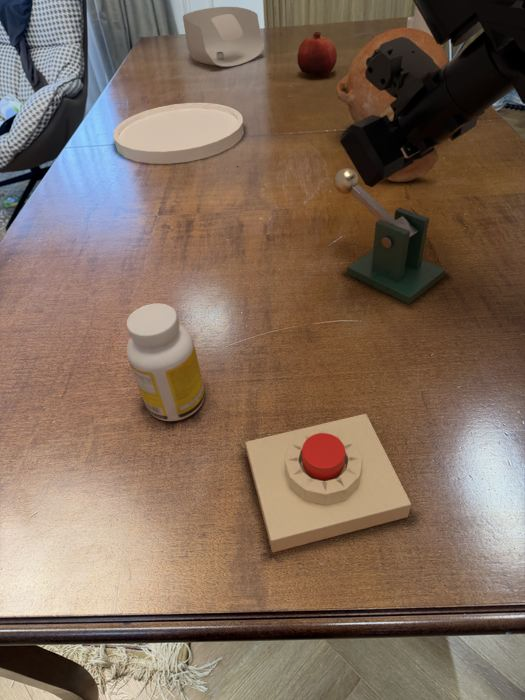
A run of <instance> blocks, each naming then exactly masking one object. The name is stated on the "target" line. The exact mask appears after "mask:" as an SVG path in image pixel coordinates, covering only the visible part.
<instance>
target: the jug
mask: <svg viewBox="0 0 525 700" xmlns="http://www.w3.org/2000/svg"><path fill="white" fill-rule="evenodd" d="M399 37H405V38H408V39H410V40H411V41H412V42H413V43H415V44H416V45H417V46H418V47H419V48H421V49H422V50H423V51H424V52H425V53H426V54H428V55H429V56H430V57H431V58H432V59H433V60H434V63H436V64H437V65H438V67H439V68H440V69H441V68H442V67H443V66H444V65H446V64H448V63H449V60H448V57H447V54H446V52H445V49H444V48H443V46H441V45H440V44H437V43H436V41H435V39H434V37H432V36H431V35H430V34H428V33H426V32H424V31H422V30H419V29H412V28H407V27H399V28H391V29H389V30H386V31H384V32H382V33H379V34H377V35H376V36H375V37H373V38H372V39H371V40H369V42H368V43H367V44H365V45H364V46H363V47H362V48H361V49H360V50H359V51H358V53H357V54H356V56H355V57H354V59H353V60H352V63H351V65H350V67H349V69H348V73H347V74H346V75H345V76H344V77H343V78H342V79H341V80H339V82H338V83H337V85H336V88H335V94H336V97H337V98H338V100H340V101H341V102H343V103H345V104H346V105H347V107H348V111H349V113H350V116H351V118H352V120H353V122H354V123H356V122H358V121H360V120H362V119H364V118H366V117H368V116H371V115H376V116H379V117H383V116H385V115H387V116H388V118H389V119H390V121H392V120H393V116H394V112H393V110H392V108H391V106H390V104H391V103H392V102H393V101H394V100H395V99H397V98H394V97H393V96H391V95H390V94H389V93H388V92H386V91H385V90H382V91H379V90H378V89H377V88H376V87H375V86H374V85H373V84H371V83H370V82H369V81H368V80H367V79H366V76H365V71H366V68H367V66H366V60H367V58H369V57H371V56H372V55H373V53H374V51H375V50H376V49H378V48H379V47H380V45H381V44H383V43H385V42H388V41H391V40H393V39H396V38H399ZM439 158H440V155H439V153H438V147H437V146H435V147H434V151H433V152H431V153H430V154H428V155H426V156H424V157H423V158H421V159H417V160H413V162H414V163H412V164H410V165H409V166H407V167H405V168H404V169H402V170H399V171H398V172H396V173H395V174H393V175H392V176H390V177H389V178H387V179H386V180H389V181H390V182H397V183H403V182H404V183H405V182H410V181H414V180H415V179H421V178H422V177H424V176H426V175H427V174H428V173H429V172H430V171H431V170H432V169H433V167H434V166H435V165H436V163H437V162H438V160H439Z"/></svg>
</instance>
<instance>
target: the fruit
mask: <svg viewBox="0 0 525 700" xmlns="http://www.w3.org/2000/svg"><path fill="white" fill-rule="evenodd" d="M321 34H322V32H320V31H314V32H313V36H310V37H306V38H304V39H303V41H302V42H301V43H300V45H299V47H298V51H297V55H296V60H297V65H298V68H299V69H300V71H301V72H302V73H303V74H305V75H308V76H314V77H323V76H325V75H328V74H329V73H331V71H332V70H334V68H335V66H336V63H337V60H338V52H337V48H336V44H335V43H334V42H333V41H332V40H331V39H330V38H328V37H324V36H321Z"/></svg>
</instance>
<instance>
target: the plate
mask: <svg viewBox="0 0 525 700" xmlns="http://www.w3.org/2000/svg"><path fill="white" fill-rule="evenodd" d="M244 134H245V130H244V120H243V115H242V114H241V112H239V111H238V110H236V109H234V108H232V107H230V106H227V105H224V104H220V103H219V104H218V103H212V102H211V103H209V102H185V103H174V104H169V105H163V106H159V107H155V108H151V109H147V110H143V111H141V112H139V113H136V114H133V115H131V116H130V117H128V118H126V119H125V120H123V121H121V122H120V123H119V124H118V125H116V127H115V128H114V131H113V133H112V136H113V141H114V145H115V147H116V150H117V153H118V154H120V155H121V156H122V157H123V158H125V159H128V160H131V161H133V162H136V163H143V164H149V165H171V164H182V163H183V164H184V163H188V162H189V163H190V162H193V161H198V160H203V159H207V158H210V157H212V156H215V155H218V154H221V153H223V152H225V151H227V150H229V149H231V148H233V147H234V146H235V145H236V144H237V143H239V142H241V140H242V138H243V136H244Z"/></svg>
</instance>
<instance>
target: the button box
mask: <svg viewBox="0 0 525 700" xmlns="http://www.w3.org/2000/svg"><path fill="white" fill-rule="evenodd" d="M319 433H327V434H331V435H334V436H336V437H337V438H338V439H340V441H341V442H342V443H343V445H344V447H345V463H344V468H343V470H342V472H341V473H340V474H339V475H338V476H336V477H334V478H332V479H328V480H320V479H316V478H314V477H312V476H310V475H309V474H308V473H307V472H306V471H305V469H304V467H303V463H302V447H303V444H304V442H305V441H306V440H307V439H308V438H309V437H311V436H312V435H315V434H319ZM245 449H246V455H247V459H248V463H249V468H250V471H251V475H252V479H253V483H254V487H255V490H256V491H255V492H256V495H257V498H258V502H259V507H260V511H261V514H262V518H263V523H264V525H265V530H266V535H267V538H268V543H269V546H270V549H271V553H277V552H282V551H284V550H288V549H291V548H297V547H300V546H303V545H307V544H311V543H315V542H318V541H322V540H326V539H329V538H334V537H337V536H341V535H345V534H349V533H352V532H357V531H361V530H364V529H367V528H371V527H375V526H379V525H383V524H387V523H390V522H391V523H392V522H394V521H398V520H402V519H406V518H408V517H409V515H410V512H411V508H412V502H411V501H410V499H409V496H408V495H407V492H406V490H405V489H404V487H403V485H402V483H401V480H400V478H399V477H398V474H397V472H396V470H395V469H394V467H393V464H392V463H391V461H390V459H389V456H388V454H387V453H386V451H385V450H386V449H385V448H384V446H383V445H382V443H381V441H380V438H379V437H378V435H377V433H376V431H375V429H374V426H373V424H372V423H371V420H370V419H369V416H368V414H367V413H363V414H358V415H354V416H350V417H346V418H342V419H341V418H340V419H337V420H333V421H329V422H323V423H320V424H315V425H311V426H307V427H302V428H299V429H294V430H290V431H285V432H281V433H277V434H272V435H268V436H265V437H260V438H256V439H251V440H248V441H245Z"/></svg>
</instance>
